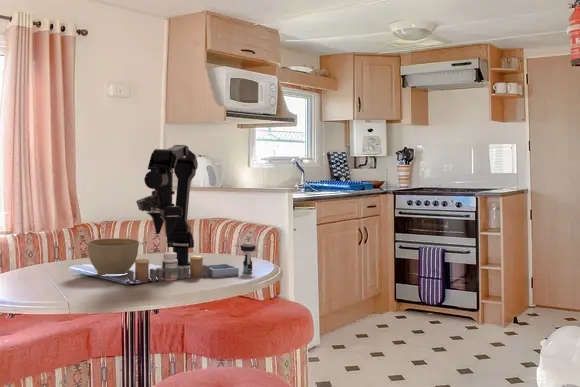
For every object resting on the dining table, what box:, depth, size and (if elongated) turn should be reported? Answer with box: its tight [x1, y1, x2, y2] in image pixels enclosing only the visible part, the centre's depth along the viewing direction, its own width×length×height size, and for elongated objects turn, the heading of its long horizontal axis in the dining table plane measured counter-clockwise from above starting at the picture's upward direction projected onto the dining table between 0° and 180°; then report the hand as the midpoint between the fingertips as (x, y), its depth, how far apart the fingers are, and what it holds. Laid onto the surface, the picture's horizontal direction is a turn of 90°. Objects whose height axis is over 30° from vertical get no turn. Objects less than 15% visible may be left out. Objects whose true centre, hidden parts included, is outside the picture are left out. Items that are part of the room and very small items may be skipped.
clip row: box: [127, 264, 210, 282], centre depth 182 cm, size 3×26×4 cm, turn 122°
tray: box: [202, 263, 240, 279], centre depth 192 cm, size 9×9×2 cm
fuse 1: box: [134, 258, 150, 284], centre depth 177 cm, size 4×4×7 cm
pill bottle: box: [161, 251, 179, 282], centre depth 182 cm, size 5×5×8 cm
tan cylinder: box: [189, 255, 204, 279], centre depth 187 cm, size 4×4×7 cm
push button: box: [239, 241, 257, 274], centre depth 197 cm, size 7×5×10 cm
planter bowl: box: [86, 237, 140, 277], centre depth 186 cm, size 16×16×11 cm
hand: (162, 235), depth 188 cm, fingers open, 9 cm apart
